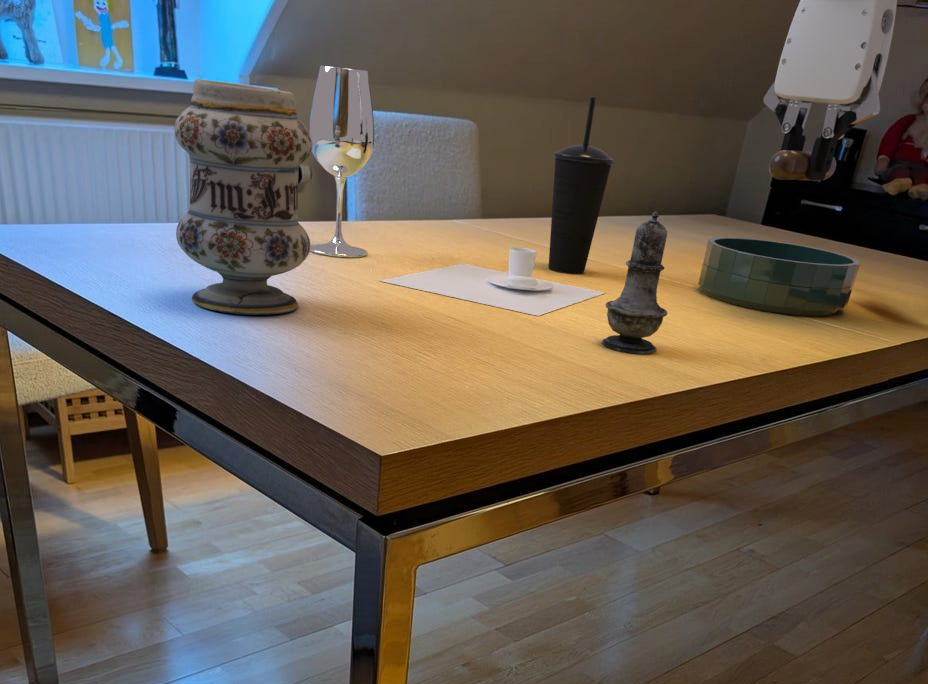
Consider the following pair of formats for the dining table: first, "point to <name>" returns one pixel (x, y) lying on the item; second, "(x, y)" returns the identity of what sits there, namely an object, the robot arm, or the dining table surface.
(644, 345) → the salt shaker
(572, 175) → the drinking cup
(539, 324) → the dining table surface
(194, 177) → the apothecary jar
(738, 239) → the bowl
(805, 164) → the stick
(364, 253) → the wineglass
